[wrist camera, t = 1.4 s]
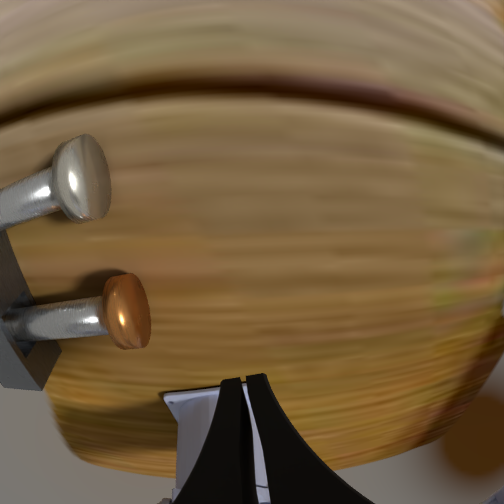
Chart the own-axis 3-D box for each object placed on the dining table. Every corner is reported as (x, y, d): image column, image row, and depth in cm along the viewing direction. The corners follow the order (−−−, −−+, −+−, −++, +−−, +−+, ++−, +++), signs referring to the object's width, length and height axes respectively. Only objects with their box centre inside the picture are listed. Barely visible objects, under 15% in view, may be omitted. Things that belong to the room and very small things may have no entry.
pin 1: (100, 132, 14) (64, 136, 10) (117, 205, 16) (88, 231, 12) (-35, 194, 13) (-72, 213, 9) (-19, 247, 15) (-52, 273, 11)
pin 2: (134, 260, 17) (113, 299, 13) (154, 318, 19) (143, 363, 15) (-2, 288, 17) (-31, 319, 13) (21, 333, 19) (-1, 366, 15)
